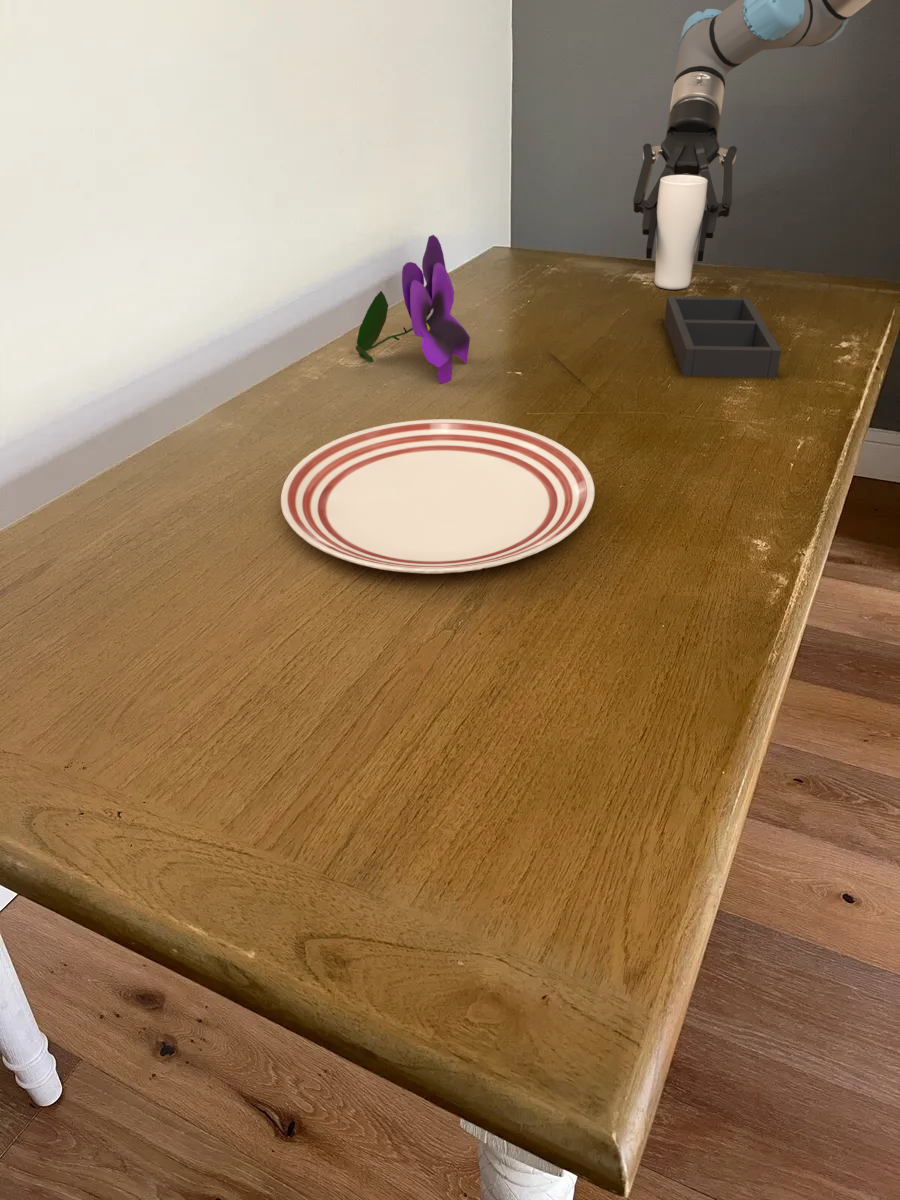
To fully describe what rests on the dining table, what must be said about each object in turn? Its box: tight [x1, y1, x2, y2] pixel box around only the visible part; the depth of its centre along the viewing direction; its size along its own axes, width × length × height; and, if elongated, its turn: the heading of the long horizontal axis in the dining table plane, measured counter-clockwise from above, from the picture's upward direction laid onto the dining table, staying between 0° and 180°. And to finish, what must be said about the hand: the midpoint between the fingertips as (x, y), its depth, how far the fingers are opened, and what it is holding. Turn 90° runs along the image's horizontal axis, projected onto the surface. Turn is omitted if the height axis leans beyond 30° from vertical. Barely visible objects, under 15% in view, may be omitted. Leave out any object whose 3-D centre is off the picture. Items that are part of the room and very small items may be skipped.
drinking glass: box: [653, 174, 708, 291], centre depth 140 cm, size 7×7×15 cm
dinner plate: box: [280, 418, 596, 574], centre depth 85 cm, size 27×27×3 cm
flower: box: [355, 234, 471, 384], centre depth 114 cm, size 15×15×14 cm
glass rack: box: [663, 296, 782, 378], centre depth 117 cm, size 10×20×5 cm, turn 175°
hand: (674, 254), depth 138 cm, fingers closed on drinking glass, 7 cm apart
